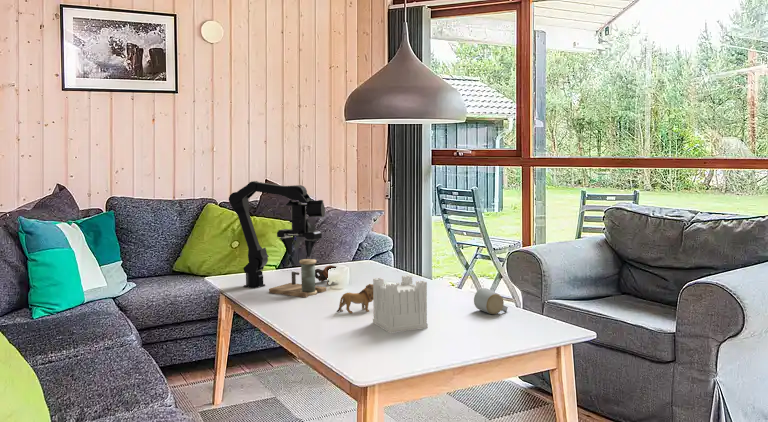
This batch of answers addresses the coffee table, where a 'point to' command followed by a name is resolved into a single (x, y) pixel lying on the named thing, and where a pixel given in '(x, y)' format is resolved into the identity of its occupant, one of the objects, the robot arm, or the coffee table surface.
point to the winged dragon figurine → (323, 273)
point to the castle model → (400, 305)
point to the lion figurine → (357, 298)
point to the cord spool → (308, 276)
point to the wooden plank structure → (293, 288)
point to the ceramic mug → (489, 301)
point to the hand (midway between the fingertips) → (299, 255)
